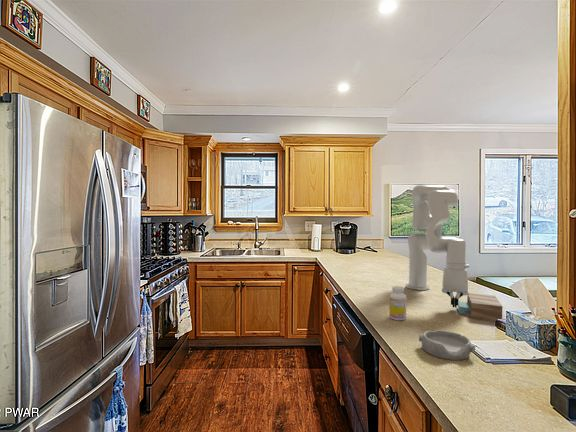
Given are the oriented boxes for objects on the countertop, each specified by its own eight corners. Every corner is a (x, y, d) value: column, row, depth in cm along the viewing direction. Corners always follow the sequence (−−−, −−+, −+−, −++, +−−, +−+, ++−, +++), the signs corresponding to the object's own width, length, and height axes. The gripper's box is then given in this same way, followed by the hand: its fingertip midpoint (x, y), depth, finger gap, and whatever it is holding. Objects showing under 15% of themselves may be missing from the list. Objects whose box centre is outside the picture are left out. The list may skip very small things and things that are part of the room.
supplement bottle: (394, 314, 140) (394, 284, 139) (408, 318, 135) (409, 287, 135) (386, 318, 135) (386, 287, 135) (401, 322, 130) (402, 290, 130)
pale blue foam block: (457, 307, 150) (458, 301, 150) (488, 311, 145) (488, 305, 145) (459, 313, 142) (459, 306, 142) (491, 317, 137) (491, 310, 137)
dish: (480, 359, 99) (481, 343, 99) (443, 364, 95) (444, 348, 95) (445, 340, 113) (445, 326, 113) (411, 344, 109) (412, 330, 109)
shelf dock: (462, 305, 153) (462, 292, 153) (494, 309, 148) (495, 295, 148) (465, 317, 137) (466, 302, 137) (502, 322, 132) (502, 306, 132)
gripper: (473, 266, 146) (472, 306, 147) (437, 263, 153) (436, 302, 153) (475, 269, 140) (474, 311, 140) (437, 266, 146) (436, 306, 146)
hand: (454, 306), depth 147 cm, fingers closed
